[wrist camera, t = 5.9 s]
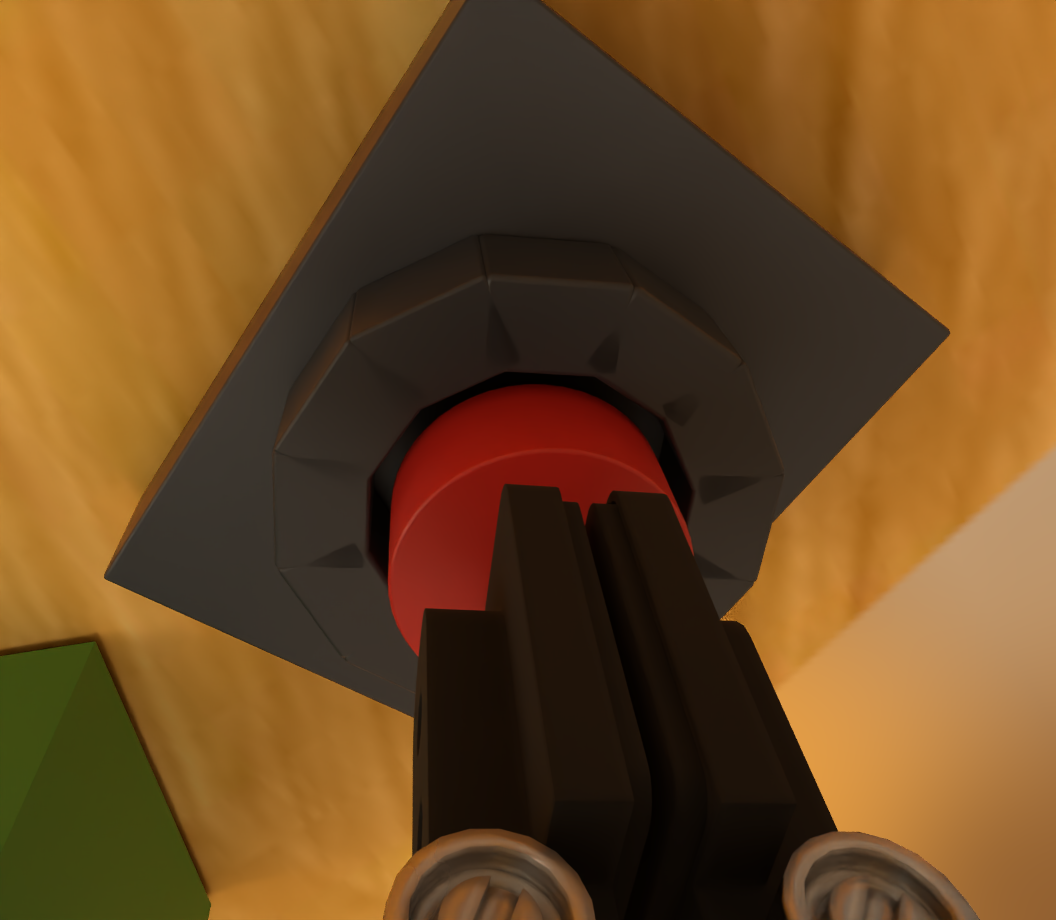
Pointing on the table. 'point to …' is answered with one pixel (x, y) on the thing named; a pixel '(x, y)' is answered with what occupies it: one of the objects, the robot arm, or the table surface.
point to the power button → (500, 486)
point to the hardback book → (82, 801)
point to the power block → (513, 340)
